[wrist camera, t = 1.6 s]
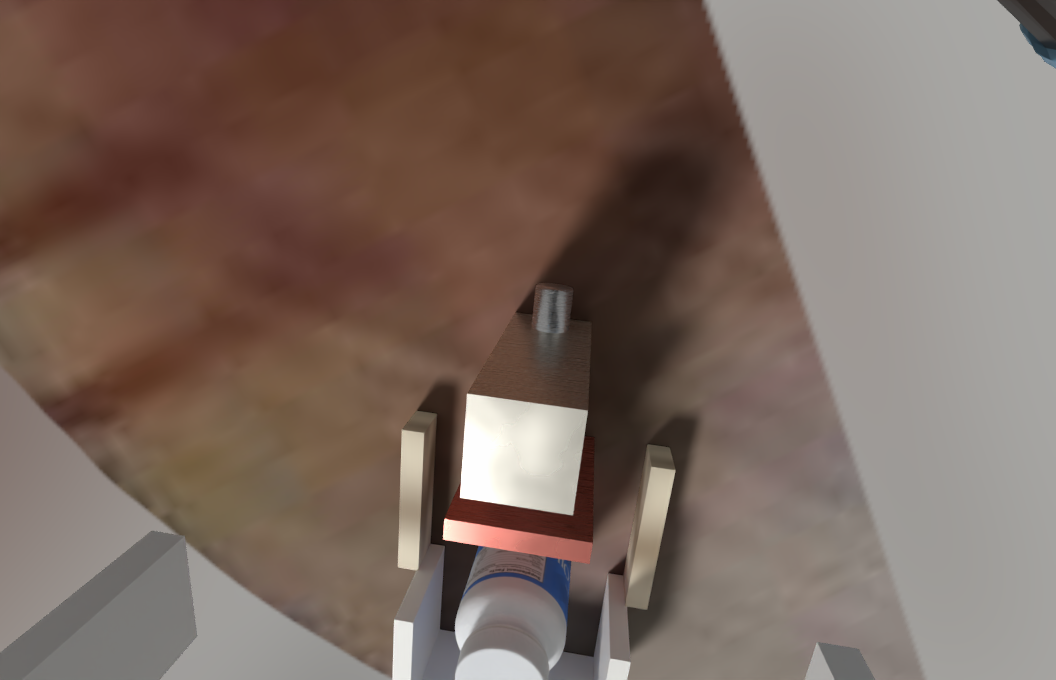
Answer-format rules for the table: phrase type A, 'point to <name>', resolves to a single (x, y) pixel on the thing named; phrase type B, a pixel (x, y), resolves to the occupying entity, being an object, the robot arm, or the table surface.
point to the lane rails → (420, 499)
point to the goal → (434, 653)
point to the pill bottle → (512, 616)
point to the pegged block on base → (530, 439)
